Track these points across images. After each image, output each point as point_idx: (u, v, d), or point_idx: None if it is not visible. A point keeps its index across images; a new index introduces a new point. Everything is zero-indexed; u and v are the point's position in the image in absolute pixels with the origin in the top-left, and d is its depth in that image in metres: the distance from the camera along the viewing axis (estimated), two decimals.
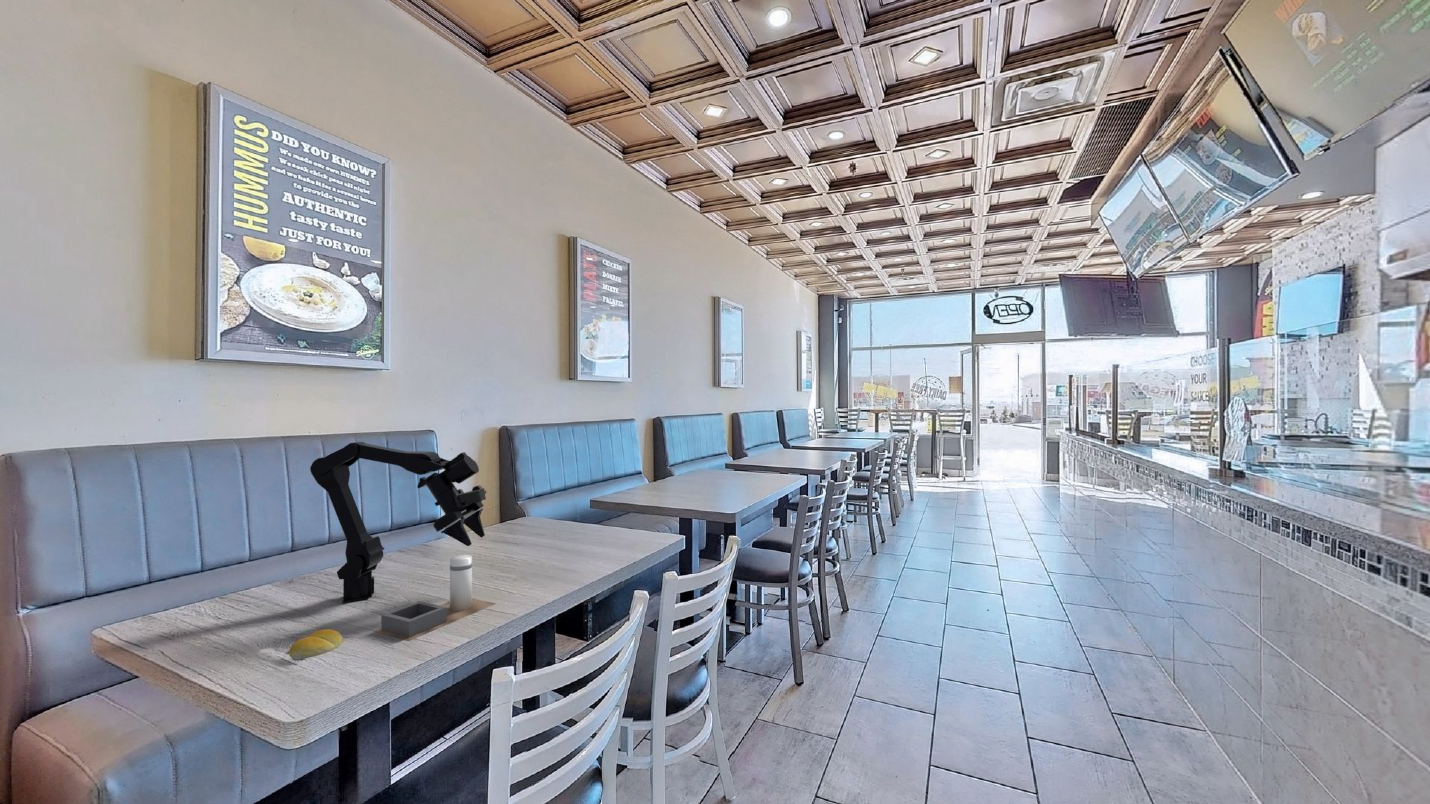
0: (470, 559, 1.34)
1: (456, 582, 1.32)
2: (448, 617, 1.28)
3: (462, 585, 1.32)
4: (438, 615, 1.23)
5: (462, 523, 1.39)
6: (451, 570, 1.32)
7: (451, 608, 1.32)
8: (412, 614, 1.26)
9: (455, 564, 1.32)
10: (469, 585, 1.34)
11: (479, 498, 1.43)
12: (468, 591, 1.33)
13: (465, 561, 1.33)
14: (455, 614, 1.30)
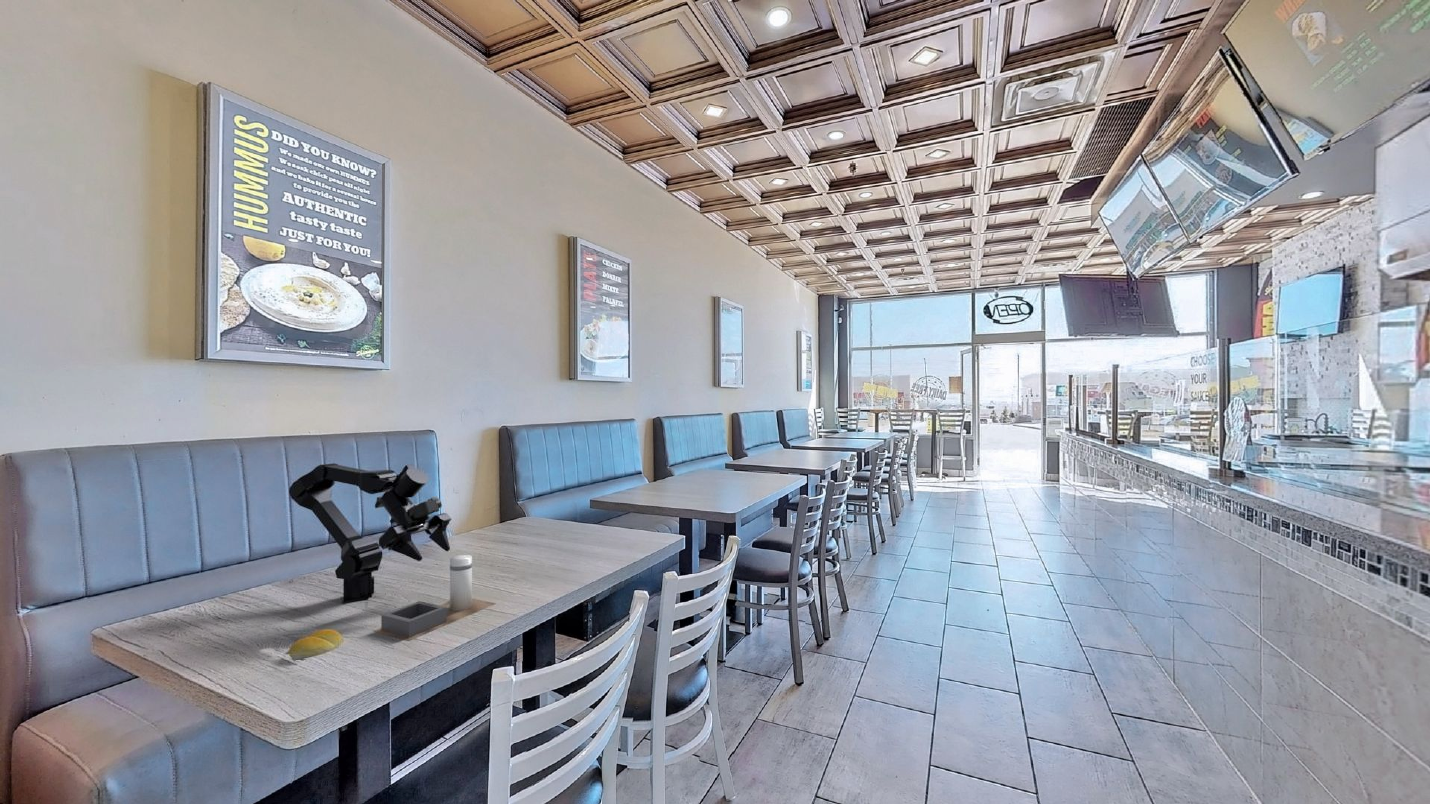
0: (470, 559, 1.34)
1: (456, 582, 1.32)
2: (448, 617, 1.28)
3: (462, 585, 1.32)
4: (438, 615, 1.23)
5: (408, 537, 1.32)
6: (451, 570, 1.32)
7: (451, 608, 1.32)
8: (412, 614, 1.26)
9: (455, 563, 1.32)
10: (469, 585, 1.34)
11: (426, 509, 1.35)
12: (468, 591, 1.33)
13: (465, 561, 1.33)
14: (455, 614, 1.30)
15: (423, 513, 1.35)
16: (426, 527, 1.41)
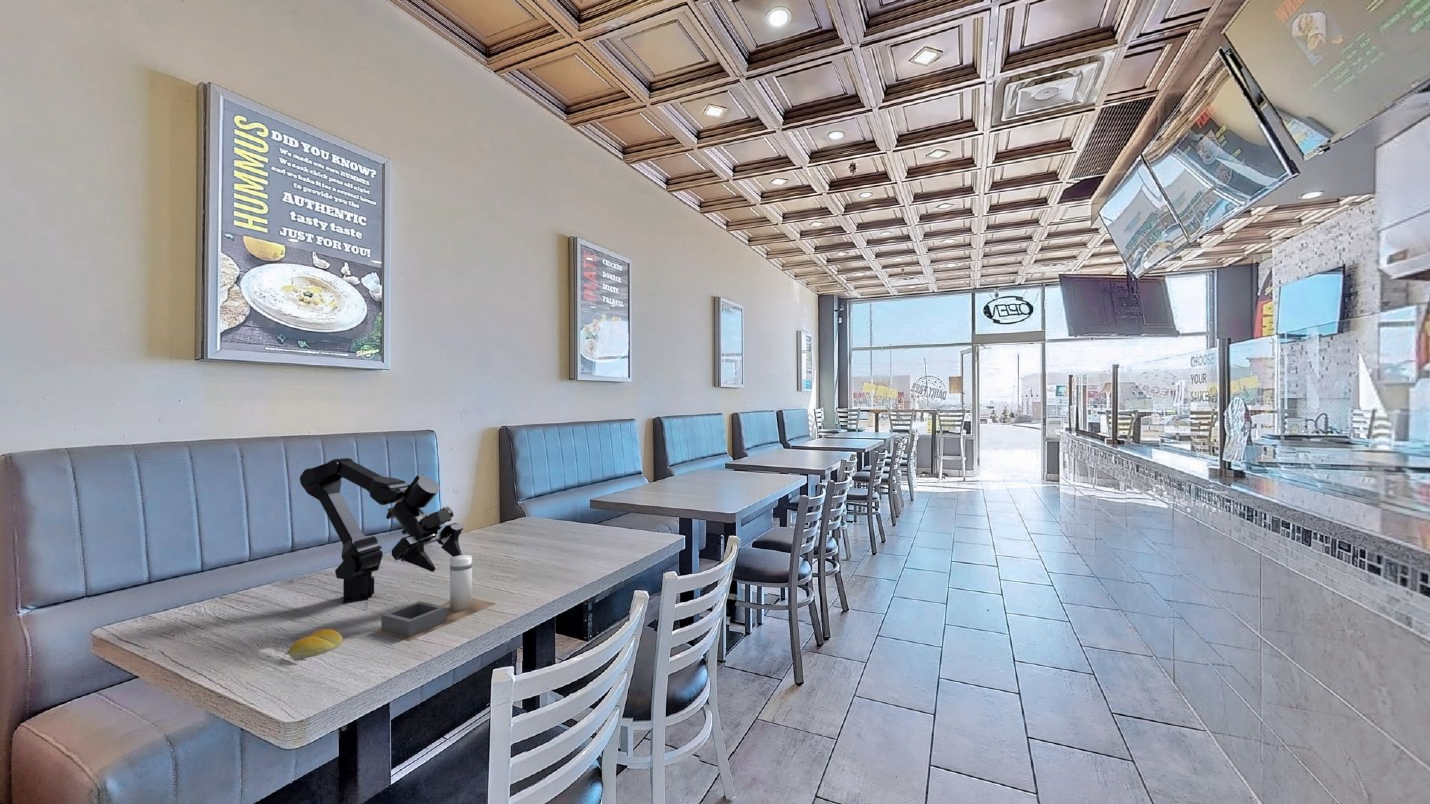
0: (470, 559, 1.34)
1: (457, 582, 1.32)
2: (448, 617, 1.28)
3: (462, 585, 1.32)
4: (438, 615, 1.23)
5: (421, 548, 1.31)
6: (451, 570, 1.33)
7: (451, 608, 1.32)
8: (412, 614, 1.26)
9: (455, 563, 1.32)
10: (469, 585, 1.34)
11: (438, 519, 1.34)
12: (468, 591, 1.33)
13: (465, 561, 1.33)
14: (455, 614, 1.30)
15: (435, 523, 1.34)
16: (438, 537, 1.40)
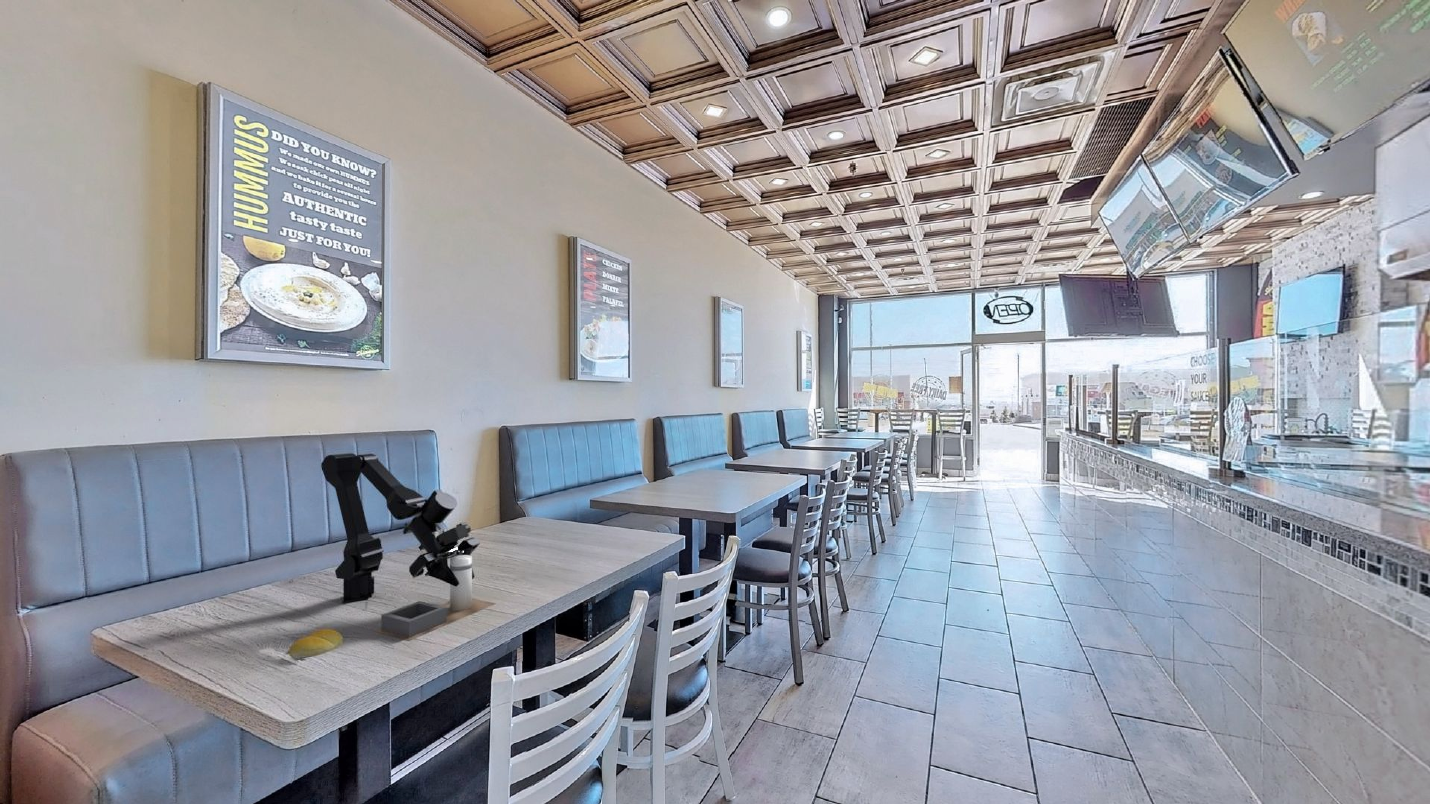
0: (470, 559, 1.34)
1: None
2: (448, 617, 1.28)
3: (462, 585, 1.32)
4: (438, 615, 1.23)
5: (444, 563, 1.31)
6: (451, 570, 1.32)
7: (451, 608, 1.32)
8: (412, 614, 1.26)
9: (455, 564, 1.32)
10: (469, 585, 1.34)
11: (456, 536, 1.33)
12: (468, 591, 1.33)
13: (465, 561, 1.33)
14: (455, 614, 1.30)
15: (453, 539, 1.32)
16: (455, 553, 1.38)
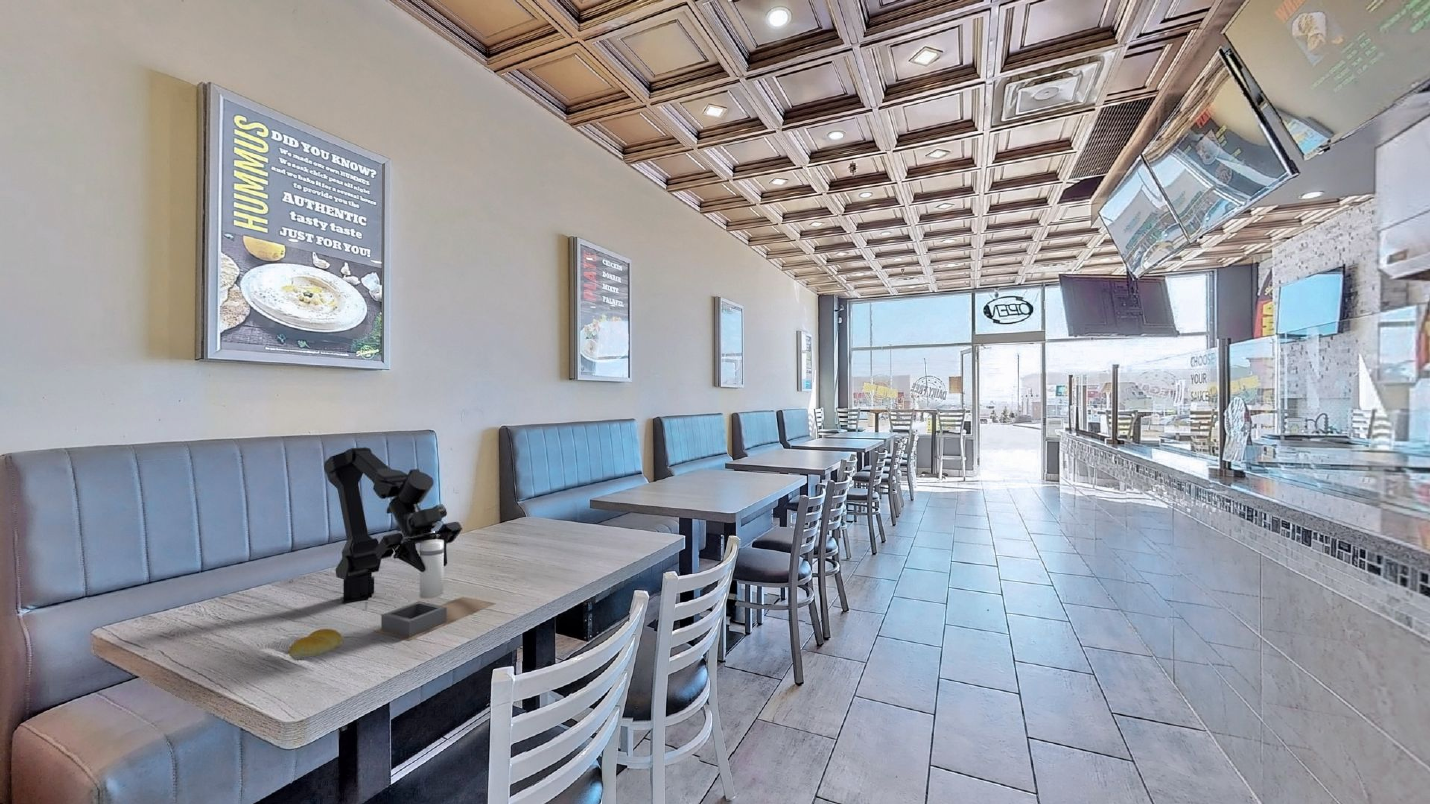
0: (440, 544, 1.26)
1: None
2: (448, 617, 1.28)
3: (429, 571, 1.24)
4: (438, 615, 1.23)
5: (411, 546, 1.24)
6: (420, 554, 1.25)
7: (420, 595, 1.25)
8: (412, 614, 1.26)
9: (423, 548, 1.24)
10: (438, 572, 1.25)
11: (424, 518, 1.25)
12: (436, 578, 1.25)
13: (433, 546, 1.24)
14: (455, 614, 1.30)
15: (421, 522, 1.25)
16: (432, 536, 1.31)
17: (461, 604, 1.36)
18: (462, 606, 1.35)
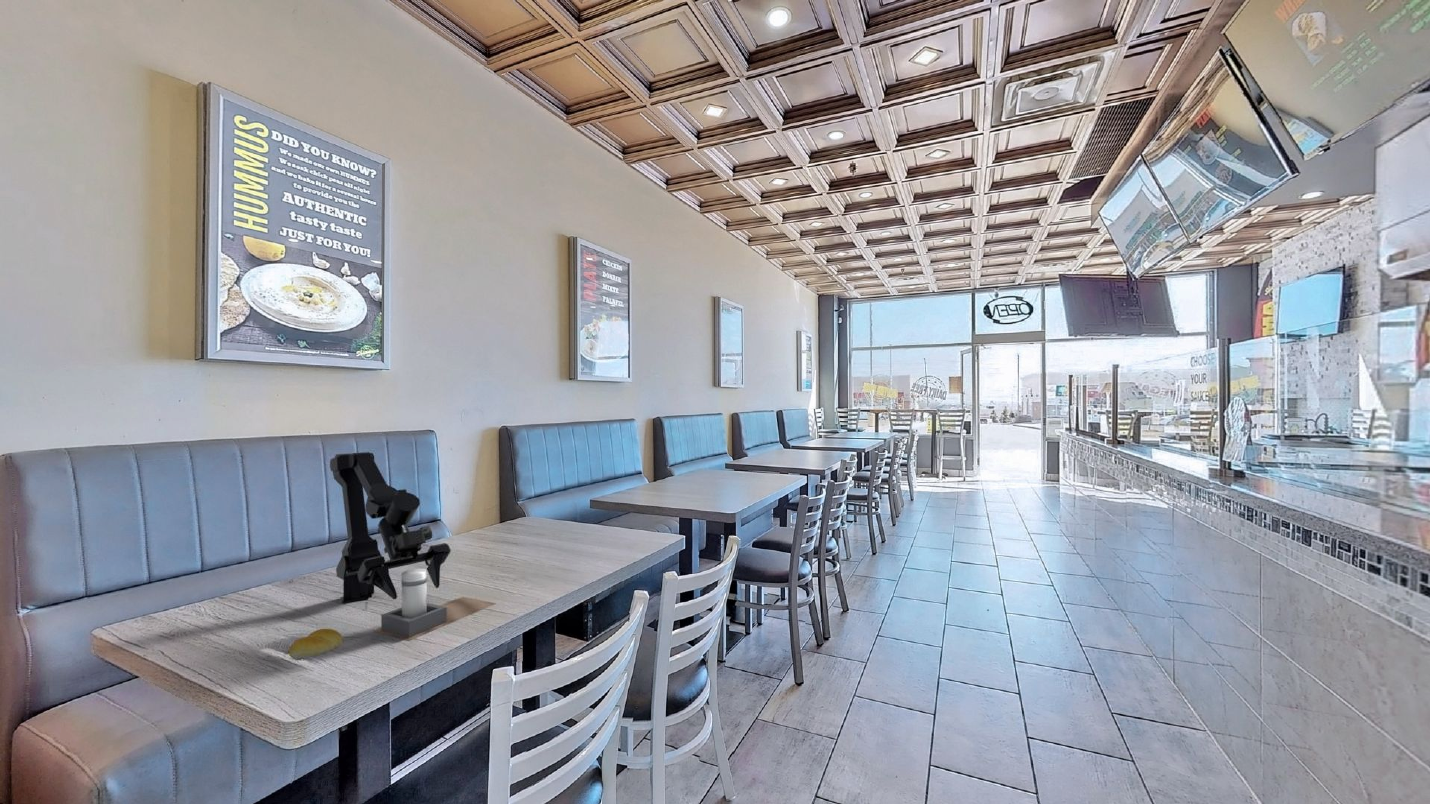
0: (421, 575, 1.22)
1: (405, 598, 1.21)
2: (448, 617, 1.28)
3: (410, 603, 1.21)
4: (438, 615, 1.23)
5: (384, 572, 1.19)
6: None
7: None
8: None
9: (404, 578, 1.21)
10: (419, 603, 1.22)
11: (406, 541, 1.21)
12: (417, 610, 1.21)
13: (414, 576, 1.21)
14: (455, 614, 1.30)
15: (403, 545, 1.21)
16: (419, 559, 1.28)
17: (461, 604, 1.36)
18: (462, 606, 1.35)
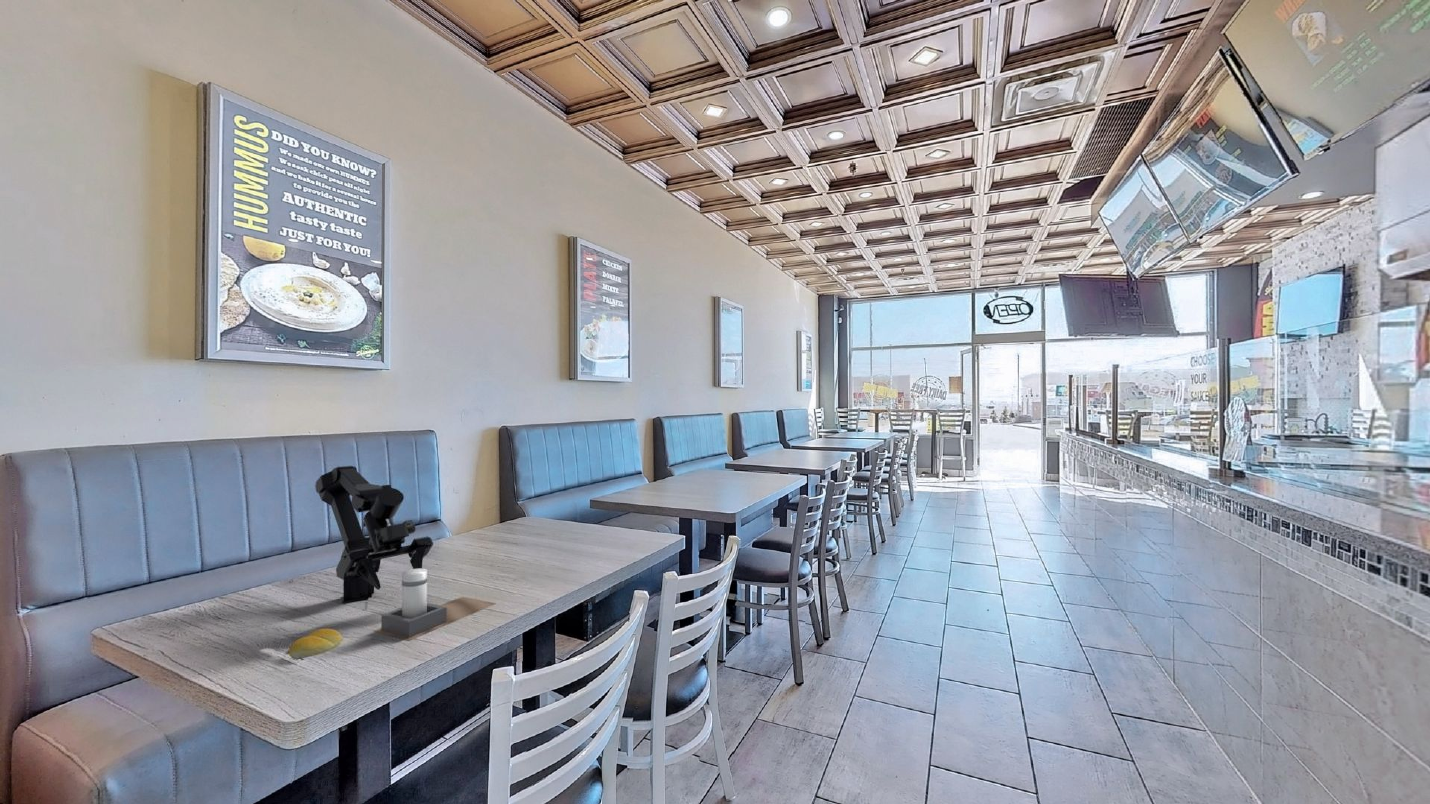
0: (421, 575, 1.22)
1: (405, 598, 1.21)
2: (448, 617, 1.28)
3: (410, 603, 1.21)
4: (438, 615, 1.23)
5: (368, 563, 1.25)
6: (402, 585, 1.22)
7: None
8: None
9: (404, 578, 1.21)
10: (420, 603, 1.22)
11: (390, 534, 1.27)
12: (417, 610, 1.21)
13: (414, 576, 1.21)
14: (455, 614, 1.30)
15: (387, 538, 1.27)
16: (402, 551, 1.34)
17: (461, 604, 1.36)
18: (462, 606, 1.35)
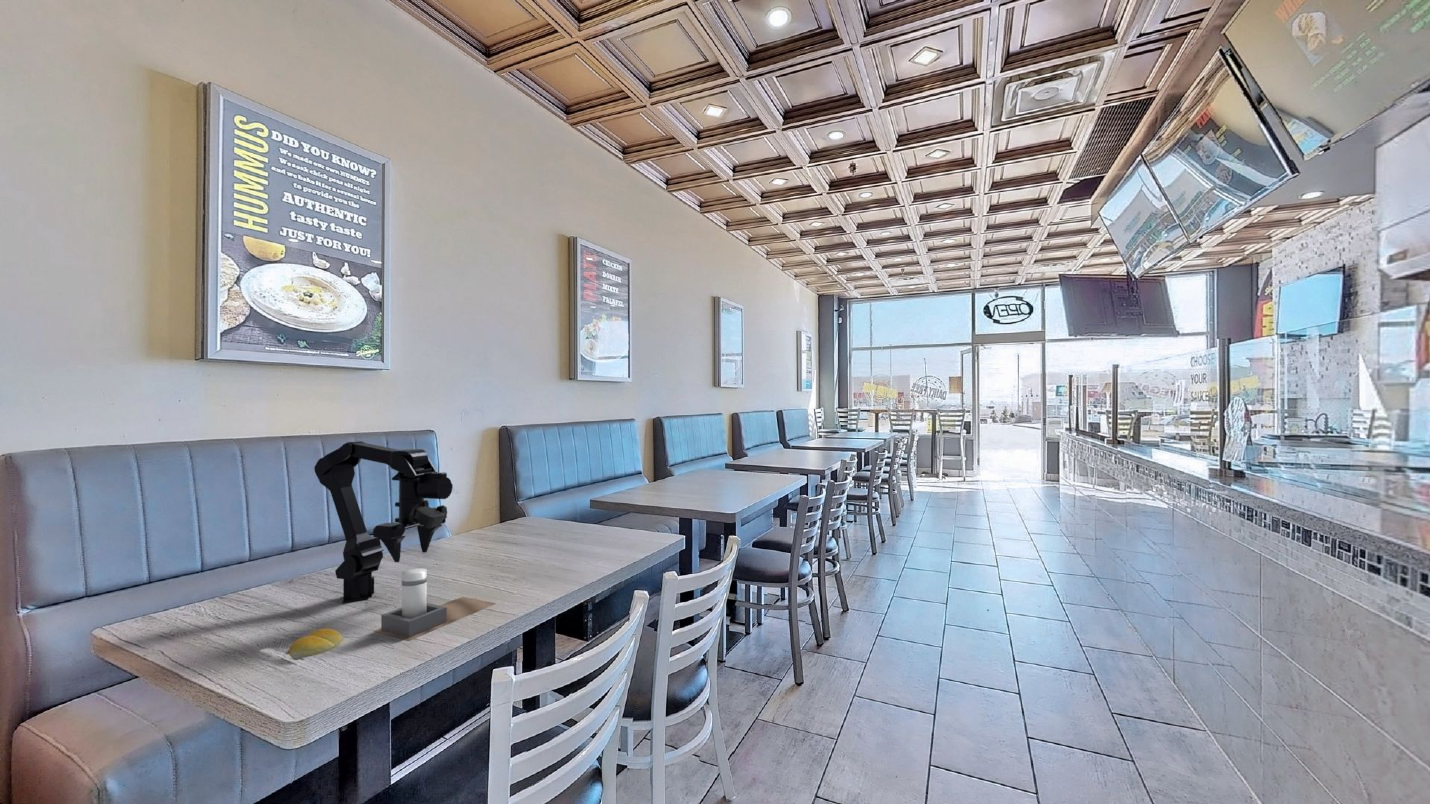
0: (421, 574, 1.22)
1: (405, 598, 1.21)
2: (448, 617, 1.28)
3: (410, 602, 1.21)
4: (438, 615, 1.23)
5: (399, 540, 1.33)
6: (402, 584, 1.22)
7: None
8: None
9: (404, 578, 1.21)
10: (420, 603, 1.22)
11: (430, 525, 1.36)
12: (417, 609, 1.21)
13: (414, 576, 1.21)
14: (455, 614, 1.30)
15: (426, 526, 1.36)
16: (420, 523, 1.42)
17: (461, 604, 1.36)
18: (462, 606, 1.35)
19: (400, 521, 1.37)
